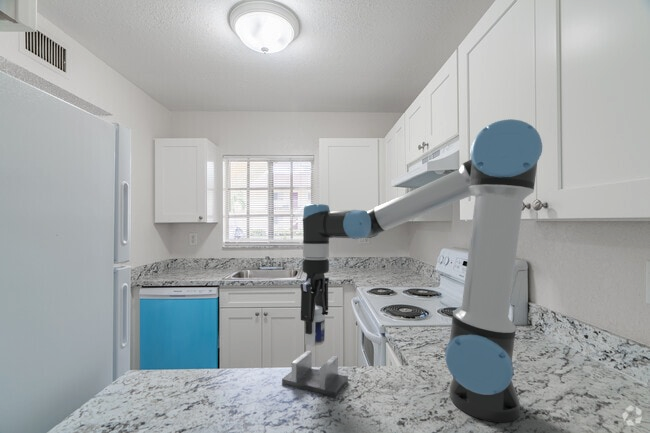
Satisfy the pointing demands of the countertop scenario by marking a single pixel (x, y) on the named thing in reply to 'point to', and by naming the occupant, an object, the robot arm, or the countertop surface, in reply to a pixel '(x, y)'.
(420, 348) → the countertop surface
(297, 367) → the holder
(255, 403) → the countertop surface
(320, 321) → the pill bottle
